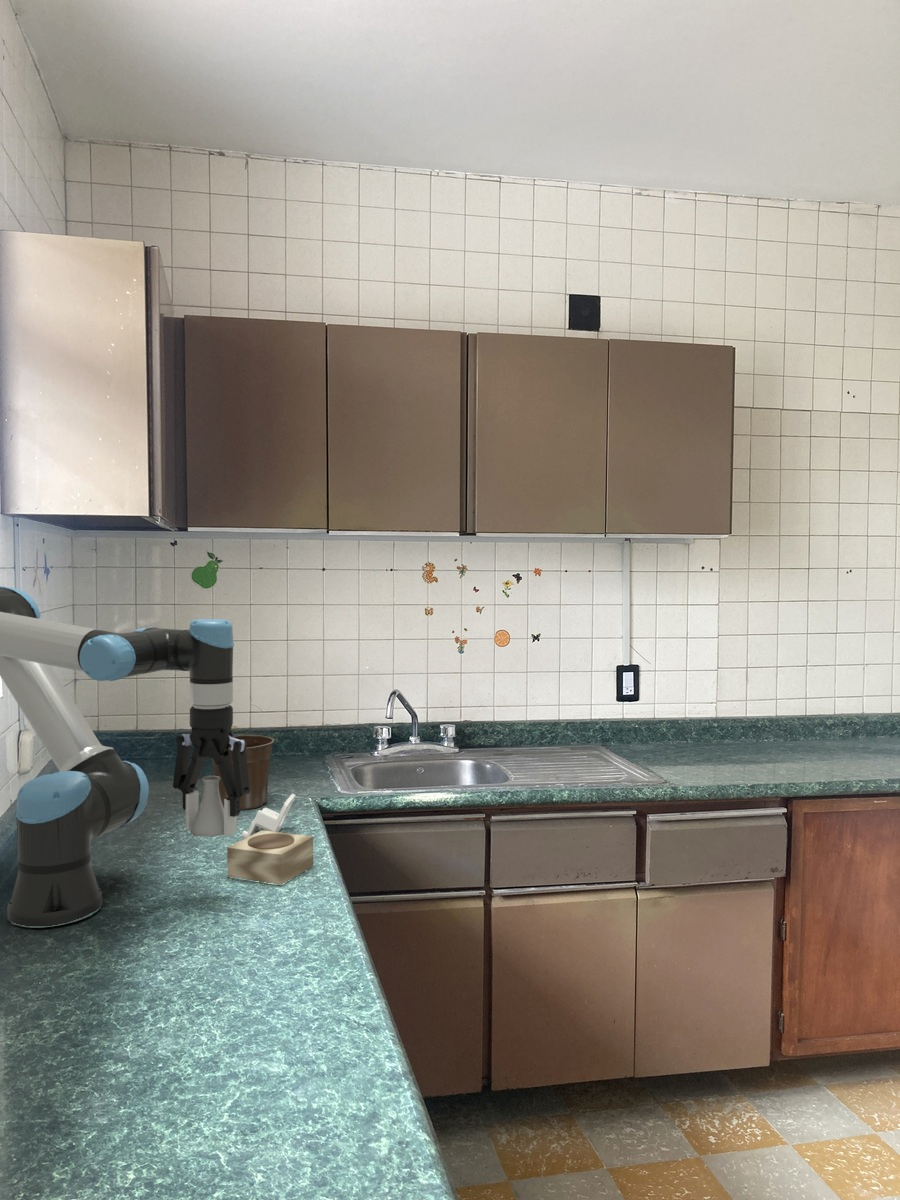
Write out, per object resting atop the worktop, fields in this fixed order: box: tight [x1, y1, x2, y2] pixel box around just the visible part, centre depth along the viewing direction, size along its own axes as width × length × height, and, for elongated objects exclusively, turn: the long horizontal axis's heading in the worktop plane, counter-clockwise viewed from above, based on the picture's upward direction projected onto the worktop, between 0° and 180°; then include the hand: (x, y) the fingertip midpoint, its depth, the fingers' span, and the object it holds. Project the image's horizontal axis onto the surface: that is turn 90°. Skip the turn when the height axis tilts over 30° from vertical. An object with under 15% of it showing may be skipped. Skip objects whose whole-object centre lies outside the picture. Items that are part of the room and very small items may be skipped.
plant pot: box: [210, 734, 275, 811], centre depth 226 cm, size 16×16×16 cm
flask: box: [189, 775, 224, 838], centre depth 161 cm, size 7×7×10 cm
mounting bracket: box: [240, 793, 297, 840], centre depth 200 cm, size 12×6×11 cm, turn 178°
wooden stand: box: [226, 829, 314, 884], centre depth 176 cm, size 12×12×6 cm
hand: (211, 830), depth 162 cm, fingers closed on flask, 7 cm apart
